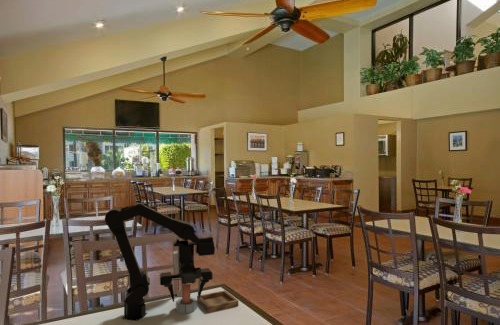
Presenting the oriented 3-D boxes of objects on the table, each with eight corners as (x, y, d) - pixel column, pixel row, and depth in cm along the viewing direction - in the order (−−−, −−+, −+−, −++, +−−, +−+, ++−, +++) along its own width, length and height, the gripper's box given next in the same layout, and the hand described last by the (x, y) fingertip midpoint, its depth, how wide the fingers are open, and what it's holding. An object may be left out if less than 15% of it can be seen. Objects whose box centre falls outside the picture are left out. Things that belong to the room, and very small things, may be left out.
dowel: (180, 310, 123) (180, 285, 123) (184, 306, 126) (184, 282, 126) (188, 311, 122) (188, 286, 122) (191, 307, 125) (191, 283, 125)
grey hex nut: (172, 313, 122) (172, 304, 122) (182, 305, 129) (182, 296, 129) (190, 316, 120) (190, 306, 120) (199, 307, 127) (199, 298, 127)
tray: (208, 314, 121) (208, 307, 121) (197, 302, 132) (197, 295, 132) (238, 307, 127) (238, 300, 127) (225, 296, 138) (225, 290, 138)
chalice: (193, 293, 141) (193, 250, 141) (188, 299, 134) (188, 254, 134) (176, 292, 142) (176, 249, 142) (170, 299, 135) (170, 254, 135)
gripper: (161, 265, 114) (161, 312, 114) (215, 260, 120) (216, 304, 120) (159, 257, 124) (159, 299, 124) (209, 252, 130) (209, 293, 130)
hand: (186, 299), depth 124 cm, fingers open, 9 cm apart
